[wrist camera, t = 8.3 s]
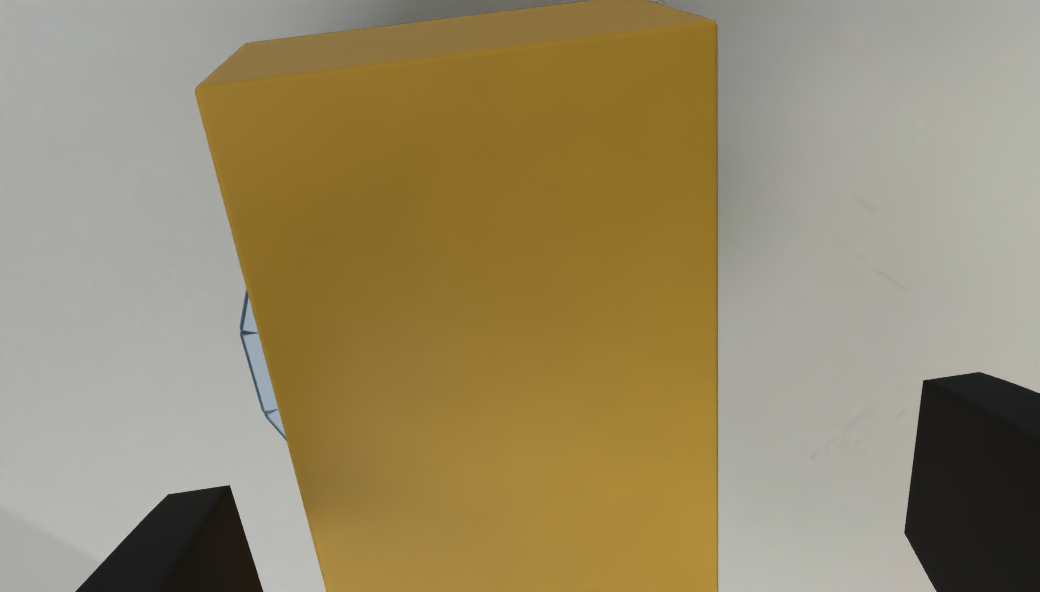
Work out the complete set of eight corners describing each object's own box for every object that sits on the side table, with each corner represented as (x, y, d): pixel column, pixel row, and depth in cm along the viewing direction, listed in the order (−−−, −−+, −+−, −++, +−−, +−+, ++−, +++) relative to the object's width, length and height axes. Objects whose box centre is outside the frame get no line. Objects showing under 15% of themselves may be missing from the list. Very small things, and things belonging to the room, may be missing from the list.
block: (657, 538, 15) (720, 679, 12) (370, 590, 14) (366, 750, 11) (635, -6, 11) (718, 19, 8) (241, 43, 10) (191, 87, 8)
